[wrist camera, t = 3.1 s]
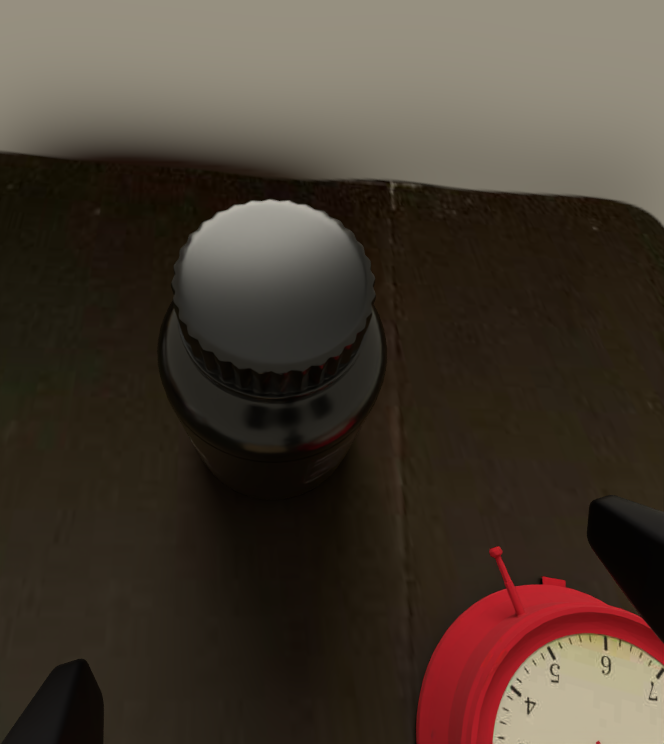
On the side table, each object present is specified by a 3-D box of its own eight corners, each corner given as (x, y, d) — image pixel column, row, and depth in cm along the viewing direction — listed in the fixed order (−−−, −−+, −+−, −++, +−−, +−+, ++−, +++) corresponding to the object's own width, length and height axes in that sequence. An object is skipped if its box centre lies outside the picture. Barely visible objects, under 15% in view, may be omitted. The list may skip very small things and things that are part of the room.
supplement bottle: (162, 448, 22) (50, 307, 11) (254, 329, 25) (236, 120, 14) (299, 537, 22) (322, 478, 10) (379, 404, 24) (465, 245, 13)
